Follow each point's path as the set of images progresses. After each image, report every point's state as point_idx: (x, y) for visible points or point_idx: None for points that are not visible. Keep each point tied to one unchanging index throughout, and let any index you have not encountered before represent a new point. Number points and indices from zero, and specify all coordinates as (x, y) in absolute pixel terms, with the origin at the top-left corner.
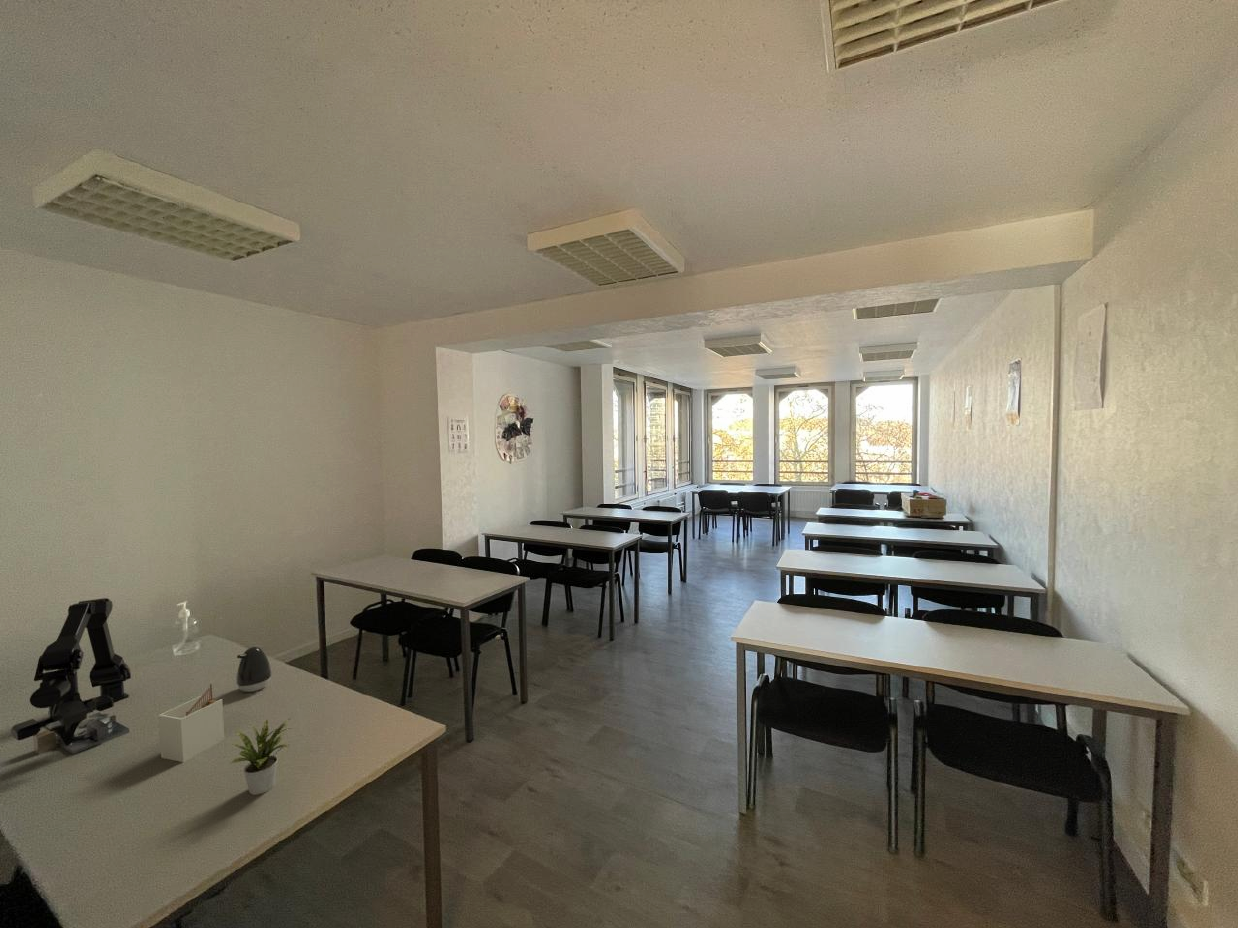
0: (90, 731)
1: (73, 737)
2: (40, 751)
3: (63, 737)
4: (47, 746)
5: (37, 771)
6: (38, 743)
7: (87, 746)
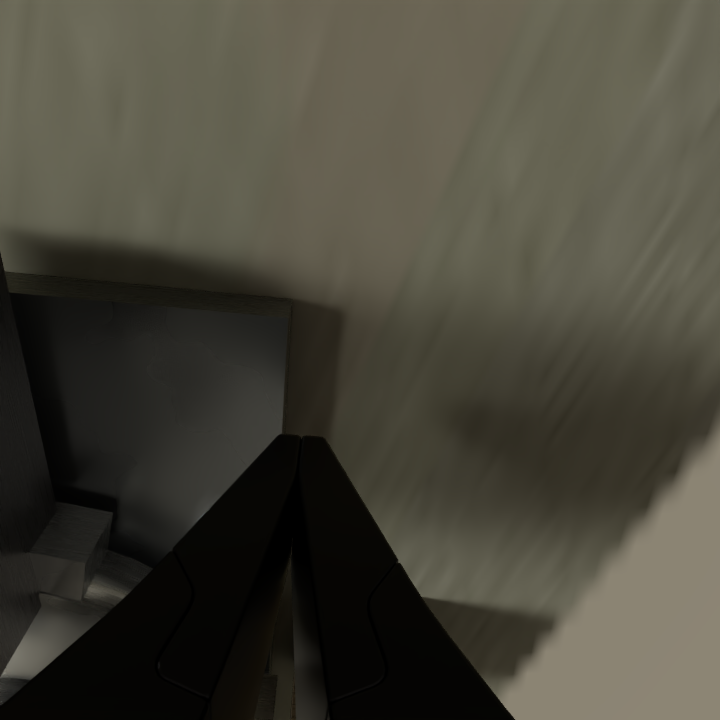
0: (3, 531)
1: None
2: None
3: (361, 540)
4: None
5: (634, 265)
6: None
7: (138, 299)
